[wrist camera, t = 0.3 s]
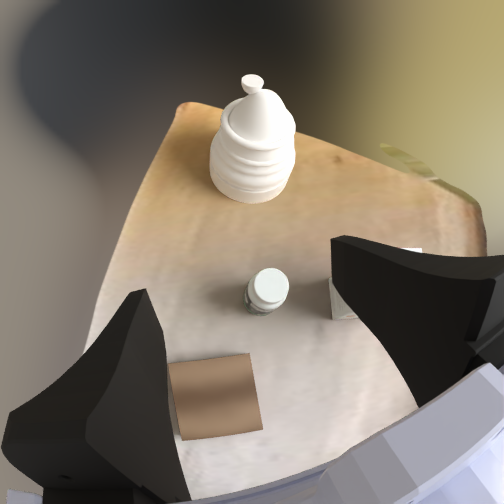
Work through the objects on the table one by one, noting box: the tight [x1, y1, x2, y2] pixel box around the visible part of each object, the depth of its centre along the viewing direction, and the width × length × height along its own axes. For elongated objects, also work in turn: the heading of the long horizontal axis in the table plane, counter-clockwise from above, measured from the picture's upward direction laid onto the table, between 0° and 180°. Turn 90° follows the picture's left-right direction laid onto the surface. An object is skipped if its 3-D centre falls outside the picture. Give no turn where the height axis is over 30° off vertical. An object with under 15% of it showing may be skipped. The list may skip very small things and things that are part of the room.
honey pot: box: [210, 75, 295, 204], centre depth 40 cm, size 13×13×18 cm
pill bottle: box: [243, 268, 289, 316], centre depth 37 cm, size 5×5×8 cm
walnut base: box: [168, 353, 263, 441], centre depth 35 cm, size 10×10×3 cm
